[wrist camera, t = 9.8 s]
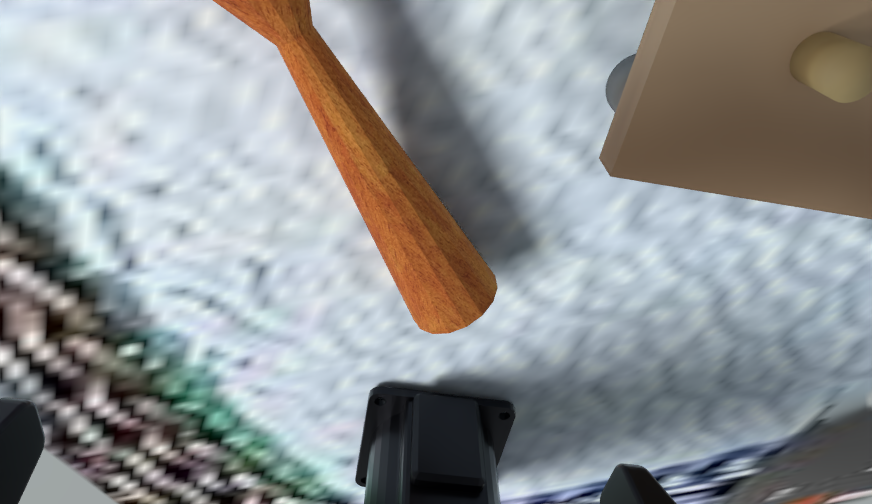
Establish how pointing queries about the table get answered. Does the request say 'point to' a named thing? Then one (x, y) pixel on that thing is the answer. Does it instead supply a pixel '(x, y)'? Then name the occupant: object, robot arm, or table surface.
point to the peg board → (749, 102)
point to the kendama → (379, 176)
